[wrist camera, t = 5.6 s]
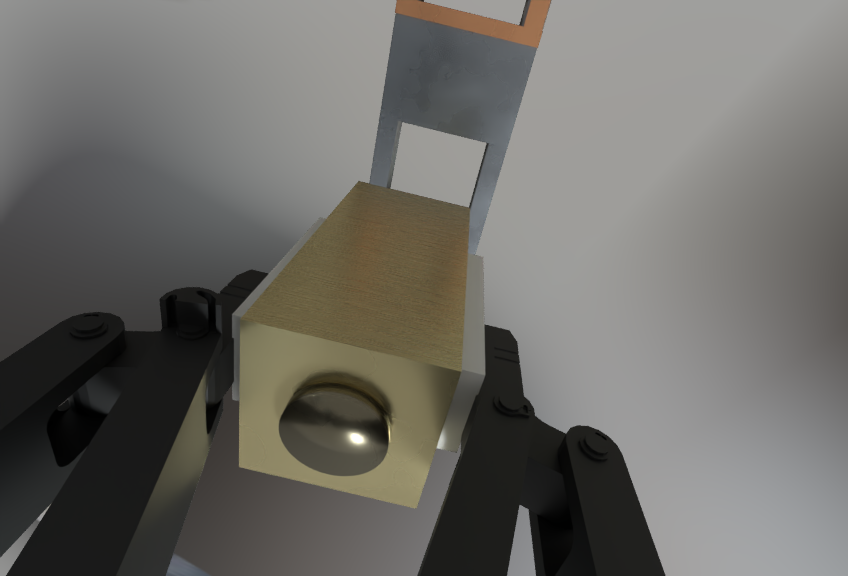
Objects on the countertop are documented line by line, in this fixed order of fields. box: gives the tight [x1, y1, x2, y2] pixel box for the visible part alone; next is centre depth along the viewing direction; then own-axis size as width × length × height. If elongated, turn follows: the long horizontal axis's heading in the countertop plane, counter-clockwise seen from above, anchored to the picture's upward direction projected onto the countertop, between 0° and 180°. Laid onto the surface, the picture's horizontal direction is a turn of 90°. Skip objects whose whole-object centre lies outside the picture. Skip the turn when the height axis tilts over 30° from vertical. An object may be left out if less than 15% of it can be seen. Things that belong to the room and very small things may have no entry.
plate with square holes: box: [369, 0, 551, 255], centre depth 26 cm, size 8×22×2 cm, turn 168°
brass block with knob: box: [239, 181, 470, 508], centre depth 14 cm, size 4×4×10 cm
